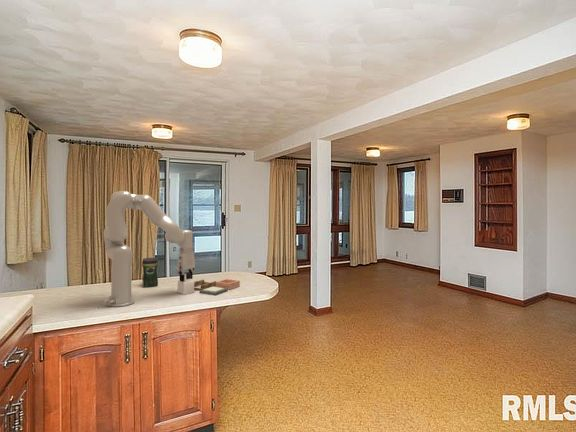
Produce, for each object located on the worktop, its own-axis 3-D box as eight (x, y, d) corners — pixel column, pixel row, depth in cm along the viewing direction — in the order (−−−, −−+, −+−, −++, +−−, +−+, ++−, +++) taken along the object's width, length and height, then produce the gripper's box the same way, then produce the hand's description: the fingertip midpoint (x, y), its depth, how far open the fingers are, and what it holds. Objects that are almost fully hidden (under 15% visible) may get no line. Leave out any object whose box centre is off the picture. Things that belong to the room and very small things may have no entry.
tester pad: (214, 293, 199) (214, 291, 199) (203, 291, 203) (203, 289, 203) (224, 290, 207) (224, 288, 207) (212, 288, 211) (212, 286, 211)
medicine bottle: (187, 290, 209) (187, 271, 208) (194, 292, 204) (194, 272, 204) (177, 292, 203) (177, 272, 203) (184, 294, 198) (184, 274, 198)
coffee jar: (157, 284, 226) (157, 256, 225) (158, 286, 219) (158, 258, 218) (141, 285, 222) (141, 257, 221) (142, 288, 215) (142, 259, 214)
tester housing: (215, 295, 197) (215, 293, 197) (199, 293, 203) (199, 290, 203) (227, 291, 208) (227, 288, 208) (212, 288, 213) (212, 286, 213)
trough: (200, 290, 208) (200, 286, 208) (186, 288, 213) (186, 284, 213) (218, 285, 223) (218, 280, 223) (204, 283, 229) (204, 279, 228)
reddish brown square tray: (229, 290, 210) (229, 283, 210) (215, 288, 215) (215, 282, 215) (239, 286, 220) (239, 280, 220) (226, 284, 225) (226, 278, 225)
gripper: (180, 252, 194) (180, 283, 194) (200, 249, 209) (200, 278, 209) (170, 251, 197) (170, 282, 197) (191, 248, 212) (191, 276, 213)
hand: (186, 279), depth 203 cm, fingers closed on medicine bottle, 6 cm apart
